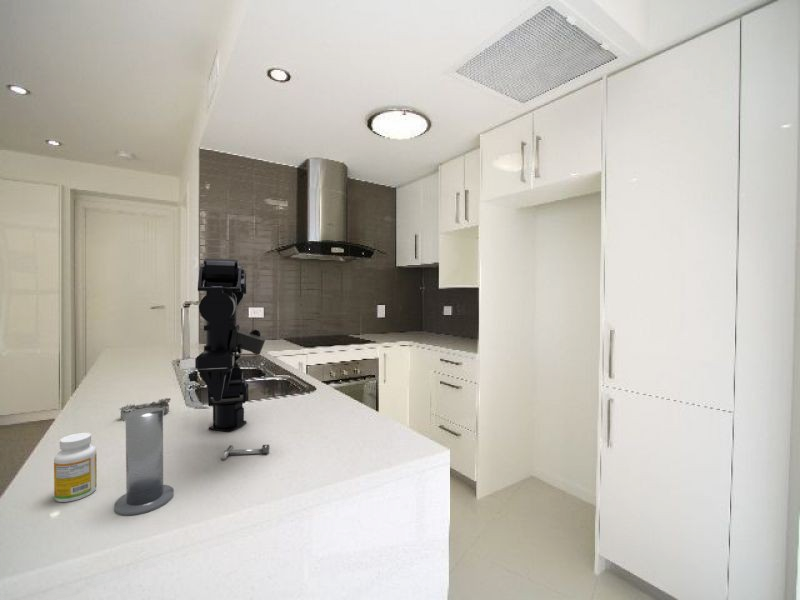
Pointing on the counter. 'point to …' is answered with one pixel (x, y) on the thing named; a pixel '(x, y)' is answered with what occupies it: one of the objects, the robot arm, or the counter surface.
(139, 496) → the grey cylindrical piece
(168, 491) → the coaster
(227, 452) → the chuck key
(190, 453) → the counter surface
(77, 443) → the supplement bottle
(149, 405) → the egg carton
